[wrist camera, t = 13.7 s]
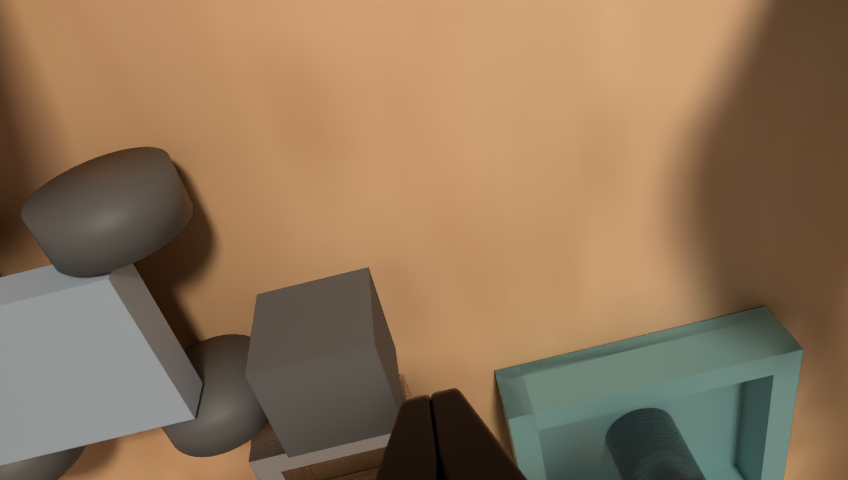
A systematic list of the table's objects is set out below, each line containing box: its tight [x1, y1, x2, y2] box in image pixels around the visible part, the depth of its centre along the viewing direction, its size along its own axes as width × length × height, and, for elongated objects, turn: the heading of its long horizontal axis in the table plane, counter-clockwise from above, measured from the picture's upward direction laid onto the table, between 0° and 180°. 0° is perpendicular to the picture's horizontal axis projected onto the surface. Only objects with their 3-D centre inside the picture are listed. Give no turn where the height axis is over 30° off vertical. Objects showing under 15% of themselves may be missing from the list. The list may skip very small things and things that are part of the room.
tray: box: [495, 306, 803, 480], centre depth 28 cm, size 11×10×2 cm
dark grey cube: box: [245, 267, 402, 458], centre depth 23 cm, size 4×4×4 cm
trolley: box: [0, 147, 269, 480], centre depth 19 cm, size 11×9×8 cm
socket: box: [249, 374, 411, 480], centre depth 27 cm, size 6×6×2 cm
